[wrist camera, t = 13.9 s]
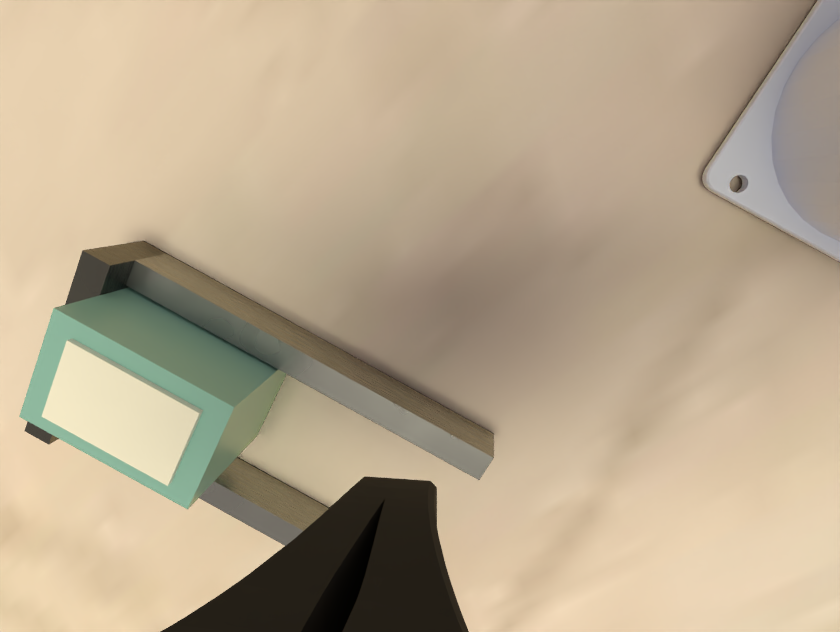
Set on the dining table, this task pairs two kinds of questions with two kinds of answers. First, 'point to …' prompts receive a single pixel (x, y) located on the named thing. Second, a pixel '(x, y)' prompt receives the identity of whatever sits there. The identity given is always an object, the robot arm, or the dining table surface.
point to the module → (148, 392)
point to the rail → (290, 353)
